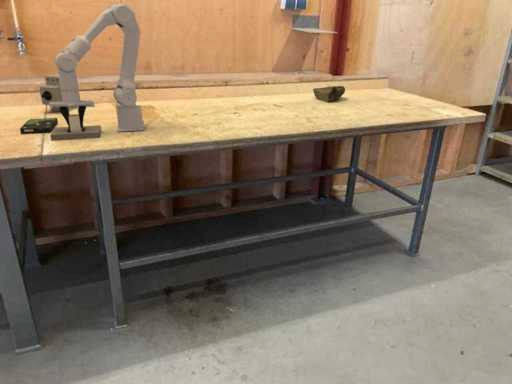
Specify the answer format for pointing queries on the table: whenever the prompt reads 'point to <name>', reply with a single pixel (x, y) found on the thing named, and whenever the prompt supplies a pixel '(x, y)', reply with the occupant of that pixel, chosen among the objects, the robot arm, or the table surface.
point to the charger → (75, 123)
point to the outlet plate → (75, 133)
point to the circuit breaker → (52, 91)
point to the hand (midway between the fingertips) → (76, 127)
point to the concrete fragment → (329, 93)
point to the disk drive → (39, 126)
